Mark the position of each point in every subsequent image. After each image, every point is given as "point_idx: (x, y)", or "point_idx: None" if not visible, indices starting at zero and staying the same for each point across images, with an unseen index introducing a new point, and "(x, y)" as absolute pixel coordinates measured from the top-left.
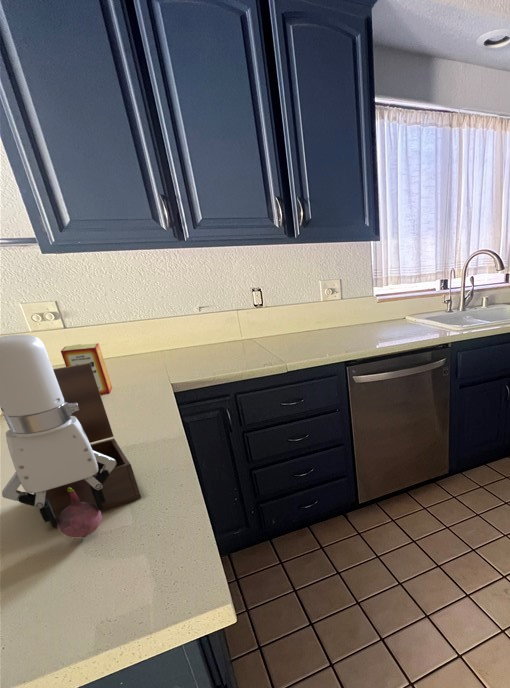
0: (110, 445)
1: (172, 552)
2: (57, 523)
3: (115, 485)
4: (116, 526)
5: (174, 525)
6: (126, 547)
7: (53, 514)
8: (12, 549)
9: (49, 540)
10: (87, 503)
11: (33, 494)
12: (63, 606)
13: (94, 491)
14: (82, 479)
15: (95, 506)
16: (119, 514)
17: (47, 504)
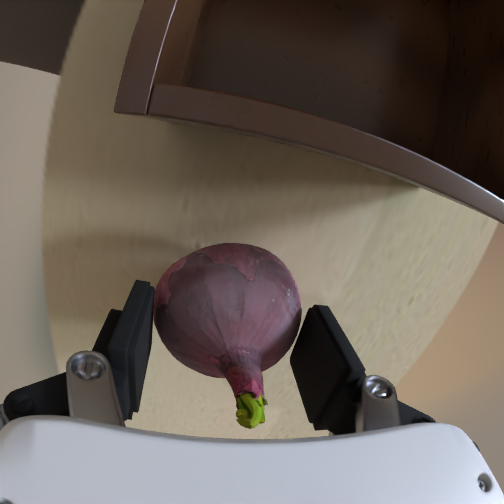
0: None
1: (311, 426)
2: (154, 316)
3: (425, 188)
4: (304, 282)
5: (370, 369)
6: (271, 376)
7: (146, 349)
8: (53, 154)
9: (136, 191)
10: (280, 344)
11: (69, 412)
12: (134, 424)
13: (320, 427)
14: (380, 169)
15: (296, 334)
16: (343, 223)
17: (130, 395)
